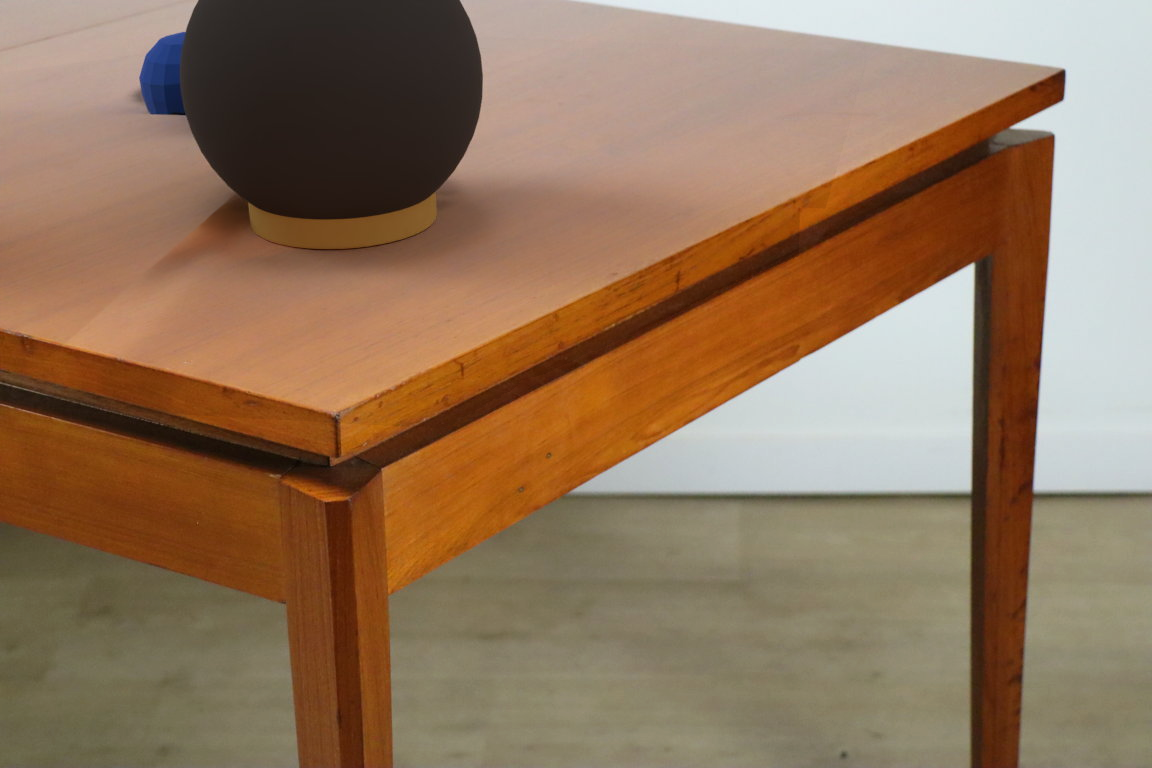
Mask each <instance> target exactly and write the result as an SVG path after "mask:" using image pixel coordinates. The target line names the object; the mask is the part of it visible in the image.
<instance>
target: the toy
mask: <svg viewBox="0 0 1152 768" xmlns="http://www.w3.org/2000/svg"><path fill="white" fill-rule="evenodd" d="M185 33H186V31H181V32H176V33H173V34H169V35H165V36H162V37H161V38H159V39H158V40H157V42H156V43H155V44H154V45H153V46H152V47H151V49H149V50H148V51H147V52H146V54H145V56H144V59H143V63H142V66H141V69H140V74H139V77H138V79H139V84H140V90H141V95H142V98H143V101H144V104H145V107H146V109H147V111H148V113H149V114H150V115H156V116H157V115H163V116H186V114H185V111H184V106H183V100H182V95H181V87H180V61H181V50H182V46H183V42H184V37H185Z"/></svg>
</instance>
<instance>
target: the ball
mask: <svg viewBox="0 0 1152 768" xmlns="http://www.w3.org/2000/svg"><path fill="white" fill-rule="evenodd" d="M185 32H186V33H185V37H184V42H183V46H182V50H181V61H180V87H181V95H182V100H183V106H184V111H185V114H186V115H185V116H186V119H187V122H188V126H189V128H190V131H191V134H192V137H193V138H194V140H195V142H196V144H197V146H198V149H199V150H200V152H201V154H202V155H203V157H204V159H205V160H206V161H207V163H208V164H209V166H210V167H211V168H212V170H213V171H214V172H215V173H216V174H217V176H218V177H219V178H220V179H221V180H222V181H223V182H224V183H225V184H226V186H227V187H229V188H230V189H231V190H232V191H233V192H234V193H236V195H238V196H239V197H240V198H241V199H243V200H244V201H245V202H247V206H248V215H249V223H250V228H251V230H252V231H253V233H254V234H256V235H257V236H258V237H259V238H262V239H263V240H266V241H268V242H271V243H274V244H278V245H281V246H285V247H293V248H298V249H299V248H301V249H310V250H312V249H314V250H348V249H357V248H358V249H360V248H367V247H374V246H380V245H385V244H389V243H390V244H391V243H393V242H398V241H401V240H405V239H407V238H410V237H412V236H415V235H418V234H419V233H421V232H424V231H425V230H427V229H428V228H429V227H430V226H432V225H433V224H434V223H435V221H436V219H437V216H438V215H437V213H438V211H437V191H438V190H439V189H440V188H441V187H442V186H443V185H444V184H445V183H446V182H447V180H448V179H449V178H450V177H452V175H453V174H454V172H455V171H456V169H457V168H458V166H459V164H460V163H461V162H462V160H463V158H464V156H465V155H466V152H467V151H468V148H469V147H470V144H471V142H472V140H473V138H474V136H475V132H476V129H477V126H478V122H479V119H480V115H481V110H482V109H481V108H482V103H483V86H484V85H483V84H484V74H483V63H482V55H481V51H480V46H479V42H478V37H477V34H476V31H475V29H474V27H473V23H472V21H471V19H470V16H469V15H468V13H467V11H466V9H465V7H464V5H463V4H462V1H461V0H197V2H196V4H195V6H194V8H193V10H192V12H191V14H190V17H189V20H188V23H187V26H186V29H185Z"/></svg>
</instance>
